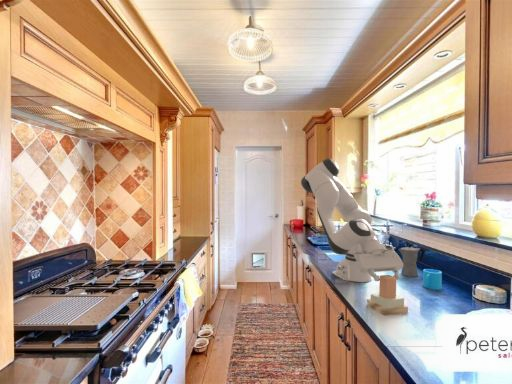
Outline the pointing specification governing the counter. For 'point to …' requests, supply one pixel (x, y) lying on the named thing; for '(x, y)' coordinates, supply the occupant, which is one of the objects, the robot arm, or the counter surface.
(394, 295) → the tall block
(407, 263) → the coffeepot
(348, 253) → the robot arm
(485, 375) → the counter surface
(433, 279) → the mug
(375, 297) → the tower top
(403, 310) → the tower base
